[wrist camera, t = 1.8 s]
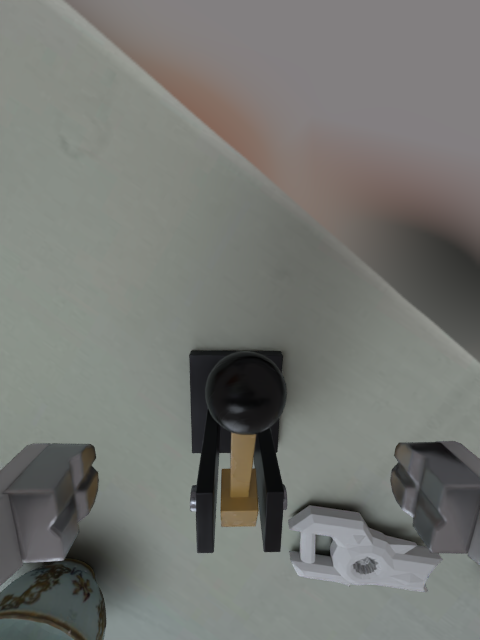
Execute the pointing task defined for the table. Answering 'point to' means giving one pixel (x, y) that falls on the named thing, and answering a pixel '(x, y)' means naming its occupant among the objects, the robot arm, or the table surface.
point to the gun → (358, 552)
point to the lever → (243, 425)
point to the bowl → (53, 604)
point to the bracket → (218, 440)
